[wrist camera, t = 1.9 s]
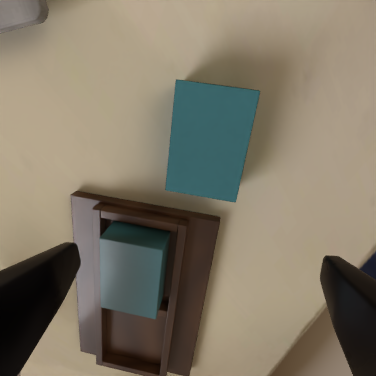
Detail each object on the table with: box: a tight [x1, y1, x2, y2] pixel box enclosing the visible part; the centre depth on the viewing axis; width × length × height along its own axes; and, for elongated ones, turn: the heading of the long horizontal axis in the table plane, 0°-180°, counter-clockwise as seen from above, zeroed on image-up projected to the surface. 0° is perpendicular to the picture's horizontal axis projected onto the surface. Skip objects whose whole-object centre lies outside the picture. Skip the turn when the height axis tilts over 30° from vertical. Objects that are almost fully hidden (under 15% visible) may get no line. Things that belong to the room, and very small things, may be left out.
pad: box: [165, 80, 260, 202], centre depth 19 cm, size 6×8×3 cm
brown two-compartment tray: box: [71, 191, 220, 376], centre depth 26 cm, size 14×22×4 cm, turn 173°
